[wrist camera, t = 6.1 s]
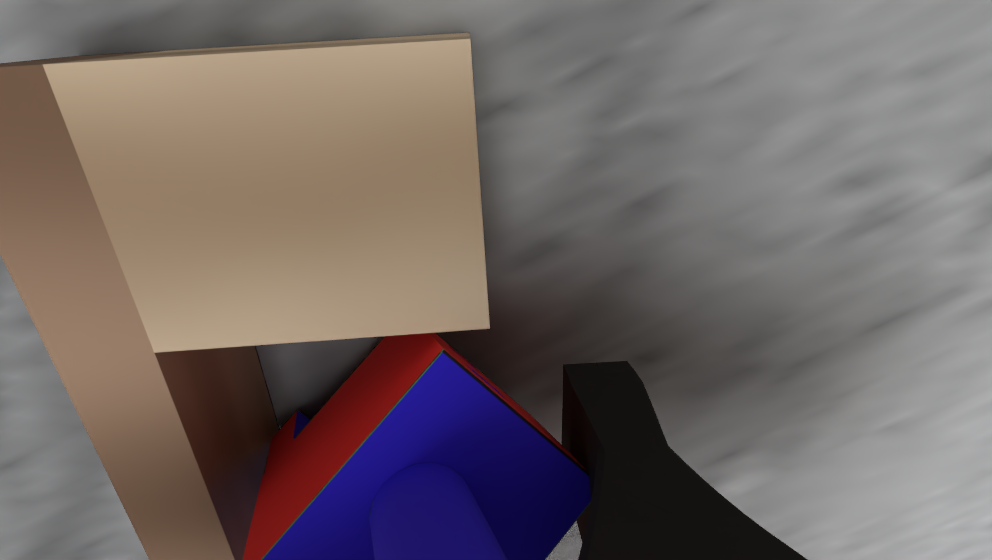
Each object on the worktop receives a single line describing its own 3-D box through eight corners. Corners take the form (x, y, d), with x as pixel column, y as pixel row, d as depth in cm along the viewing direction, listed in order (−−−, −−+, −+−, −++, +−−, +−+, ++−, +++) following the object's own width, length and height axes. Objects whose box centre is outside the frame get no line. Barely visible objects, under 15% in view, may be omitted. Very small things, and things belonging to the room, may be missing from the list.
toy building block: (503, 389, 14) (724, 601, 6) (390, 523, 13) (478, 934, 6) (397, 298, 13) (505, 417, 5) (270, 439, 12) (179, 806, 5)
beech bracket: (507, 603, 16) (516, 724, 13) (281, 622, 16) (242, 749, 13) (468, 32, 9) (469, 38, 6) (77, 56, 9) (-88, 72, 6)
